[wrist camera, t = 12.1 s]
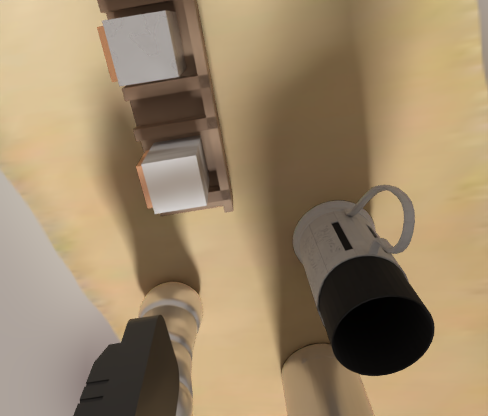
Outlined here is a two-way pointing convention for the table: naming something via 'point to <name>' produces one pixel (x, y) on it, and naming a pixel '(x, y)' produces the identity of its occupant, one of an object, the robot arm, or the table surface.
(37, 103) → the table surface
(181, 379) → the plastic bottle
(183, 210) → the brown wooden rack
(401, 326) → the glass holder
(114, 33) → the wood-topped grey cube
